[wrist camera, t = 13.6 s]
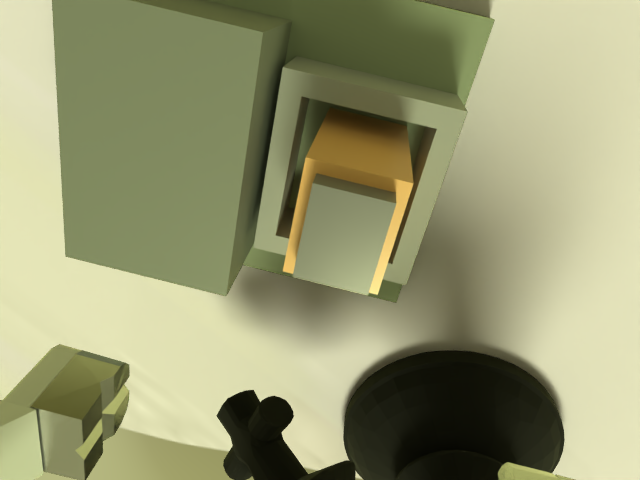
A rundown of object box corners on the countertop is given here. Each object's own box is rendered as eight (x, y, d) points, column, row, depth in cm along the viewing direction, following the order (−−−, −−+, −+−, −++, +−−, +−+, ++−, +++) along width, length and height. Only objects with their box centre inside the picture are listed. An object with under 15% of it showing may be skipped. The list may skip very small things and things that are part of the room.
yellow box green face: (407, 126, 25) (414, 194, 17) (380, 213, 27) (377, 309, 19) (329, 107, 25) (301, 166, 17) (310, 196, 27) (277, 284, 19)
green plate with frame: (489, 17, 23) (527, 31, 17) (395, 291, 31) (397, 372, 24) (120, -71, 23) (19, -90, 17) (118, 223, 31) (48, 285, 25)
